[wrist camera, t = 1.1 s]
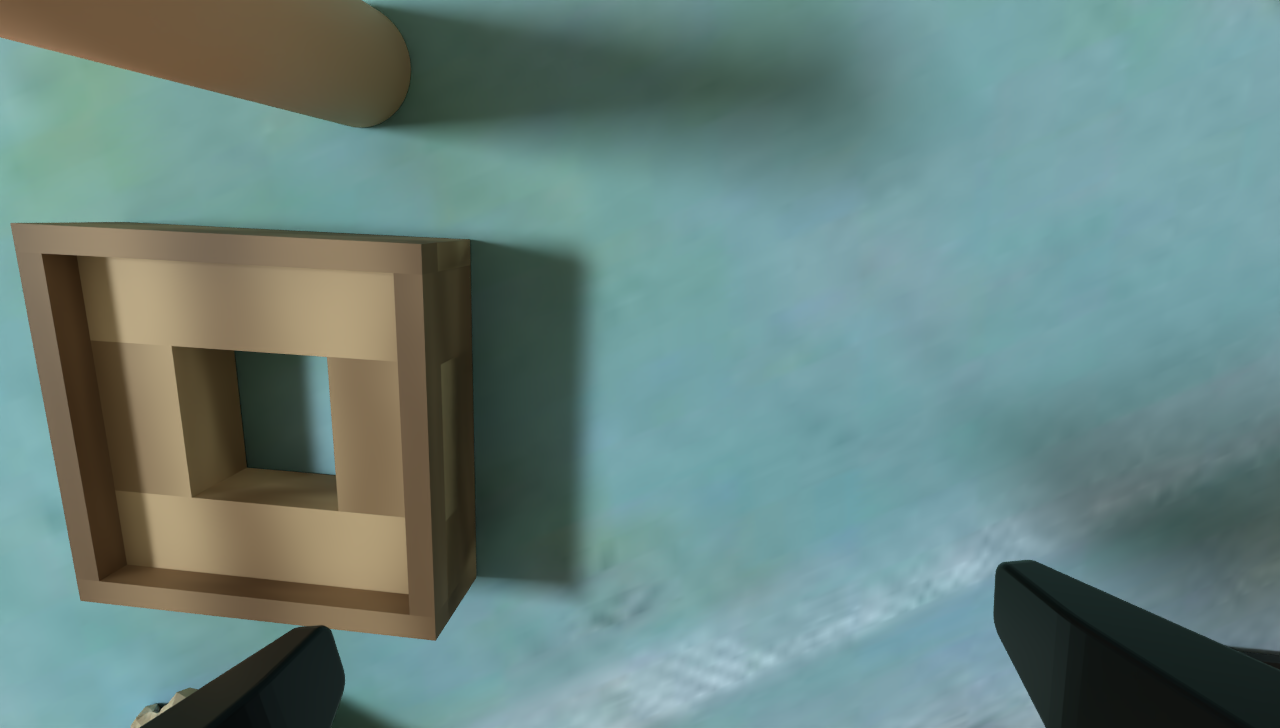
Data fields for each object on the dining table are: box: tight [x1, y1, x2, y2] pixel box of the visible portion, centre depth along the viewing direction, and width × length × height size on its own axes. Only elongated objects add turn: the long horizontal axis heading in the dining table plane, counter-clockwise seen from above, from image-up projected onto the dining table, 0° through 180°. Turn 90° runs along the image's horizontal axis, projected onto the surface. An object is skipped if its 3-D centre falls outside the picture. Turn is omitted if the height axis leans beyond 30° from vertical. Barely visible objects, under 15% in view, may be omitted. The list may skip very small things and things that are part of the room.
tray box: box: [11, 222, 477, 641], centre depth 20 cm, size 12×12×4 cm
